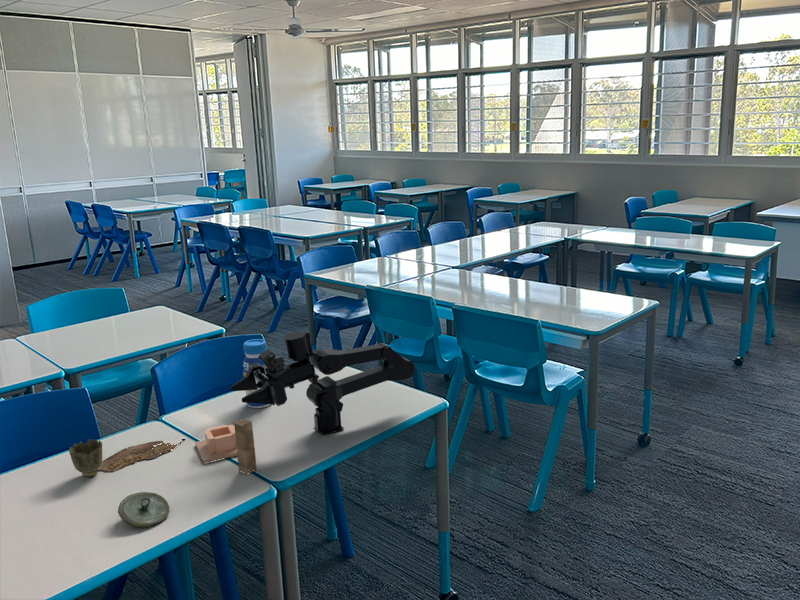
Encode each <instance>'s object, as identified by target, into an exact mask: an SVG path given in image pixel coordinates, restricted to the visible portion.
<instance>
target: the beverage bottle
mask: <svg viewBox="0 0 800 600" xmlns="http://www.w3.org/2000/svg"><path fill="white" fill-rule="evenodd" d="M242 347H243V351H244V352H243V353H244V355H245V357H244V358H243V361H242V367H243V371H242V372H243V374H242V375H243V377H245V376H246V375H247V373H248V368H249V367H250V366H249V365H250V364H253V363H258V364H260V365H261V366H262V367H264V370H265V368H266V365H265V364H264V363H263V361H262V360H261V359H260V358H259V357H258V356H259V355H260V354H261V353H263V352H264V351H265V350H266V349H268V348H267V342H266V340H265V339H261V338H255V339H254V338H253V339H249V340H246V341H245V342H244V343H243V346H242ZM265 374H266V372H265ZM257 389H258V390H259V389H261V388H257ZM255 391H257V390H245V396H247V395H249V394H251V393H253V392H255ZM246 405H247V406H248V407H249V408H253V409H262V408H266V407H269V406H272V405H271V404H260V403H246Z"/></svg>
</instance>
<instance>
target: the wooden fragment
mask: <svg viewBox="0 0 800 600" xmlns="http://www.w3.org/2000/svg"><path fill="white" fill-rule="evenodd" d="M160 443H162V444H161V445H157V444H160ZM169 444H170V443H167V444H165V443H163V441H162V440H155V441H150V442H145V443H141V444H137V445H132V446H128V447H124V448H123V449H121V450H118V451H117V452H115V453H114V454H112V455H110V456H109V457H107V458H105V459H104V460H103V459H102V463H101V465H100V467H99V468H98V472H104V471H105V473H108V472H109V473H114V471H115V472H116V471H118V470H120V469H122V468H124V467H127V466H130V465H133V464H136V463H137V462H136V461H138V462H142V461H144V459H146V460H145V461H147V460H152V459H154V458H158V457H159V456H161V455H163V453H164V454H166V452H167V453H169V452H168V451H171V449H174V448H175V447H176V446H177V444H176V445H174V444H173V445H171V444H170V445H169ZM178 444H179V443H178ZM153 445H157V446H156V447H154V446H153ZM167 445H168V446H167ZM179 445H180V444H179ZM152 448H153V449H152ZM176 448H177V447H176ZM176 448H175V449H176ZM175 449H174V450H175ZM171 452H172V451H171ZM160 453H161V454H160ZM141 460H142V461H141ZM110 471H111V472H110Z"/></svg>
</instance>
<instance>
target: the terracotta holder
mask: <svg viewBox="0 0 800 600" xmlns="http://www.w3.org/2000/svg"><path fill="white" fill-rule="evenodd" d="M203 431H204V439H202V440H199V441H195V442H194V444H195V445H196V446H195V447H197V448H196V450H197V449H198V450H197V453H198V454H199V456H201V457H200V458H202V459H201V461H202V460H203V461H202V463H203V462H204V463H206V462H211V461H214V460H218V459H222V458H228V457H232V458H235V457H234V456H236V457H238V454H237V445H236V435H235V426H234V425H233V424H230V425H229V424H228V425H227V424H224V425H219V426H215V427H210V428H208V429H206V430H203ZM228 459H229V458H228ZM204 463H203V464H204ZM211 463H212V462H211Z"/></svg>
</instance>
